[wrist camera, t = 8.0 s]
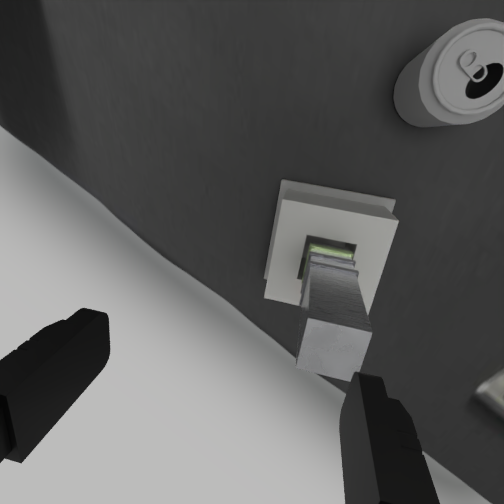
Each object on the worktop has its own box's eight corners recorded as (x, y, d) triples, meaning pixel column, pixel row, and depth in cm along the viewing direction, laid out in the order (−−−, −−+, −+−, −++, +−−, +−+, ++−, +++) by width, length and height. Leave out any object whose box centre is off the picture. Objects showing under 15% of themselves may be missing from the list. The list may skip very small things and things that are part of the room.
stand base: (282, 178, 41) (273, 189, 33) (394, 198, 39) (415, 215, 31) (264, 276, 46) (253, 307, 38) (363, 297, 44) (373, 335, 36)
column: (310, 239, 35) (305, 314, 20) (351, 247, 34) (376, 330, 20) (302, 275, 37) (292, 369, 22) (341, 283, 36) (357, 386, 21)
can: (421, 142, 37) (466, 144, 26) (377, 94, 36) (403, 75, 25) (482, 88, 34) (562, 64, 23) (435, 34, 33) (495, -17, 22)
